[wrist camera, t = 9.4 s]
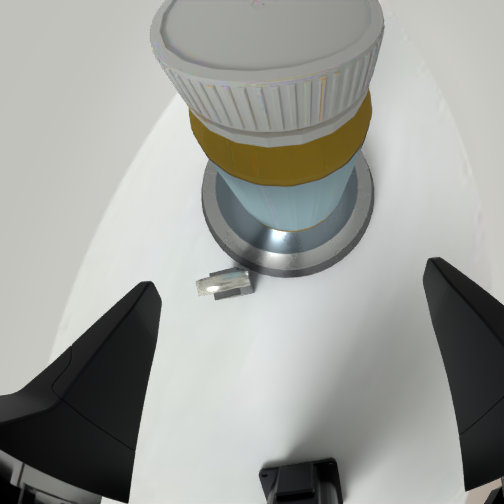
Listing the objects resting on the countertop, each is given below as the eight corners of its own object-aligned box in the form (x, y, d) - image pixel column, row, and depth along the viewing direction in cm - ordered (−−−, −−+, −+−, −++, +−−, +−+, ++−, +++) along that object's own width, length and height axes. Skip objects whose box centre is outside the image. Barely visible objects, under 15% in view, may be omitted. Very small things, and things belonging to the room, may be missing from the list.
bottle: (245, 138, 21) (170, -33, 6) (340, 142, 20) (375, -41, 5) (235, 230, 20) (100, 116, 6) (339, 237, 19) (428, 115, 5)
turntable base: (392, 257, 21) (429, 244, 14) (224, 299, 22) (192, 304, 16) (340, 106, 23) (348, 52, 16) (193, 143, 24) (160, 100, 17)
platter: (388, 246, 20) (393, 244, 19) (224, 287, 21) (220, 287, 20) (338, 103, 21) (339, 96, 20) (195, 140, 23) (190, 133, 22)
